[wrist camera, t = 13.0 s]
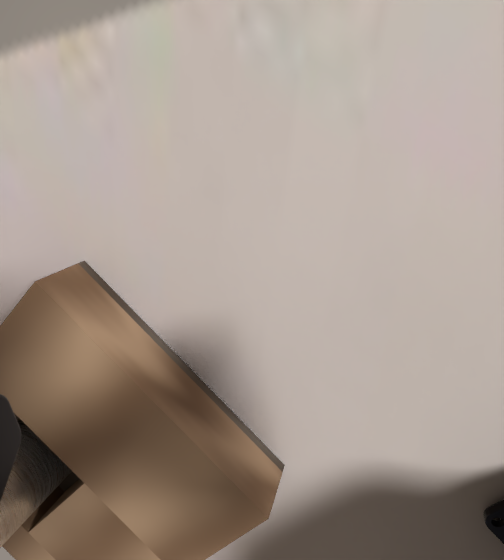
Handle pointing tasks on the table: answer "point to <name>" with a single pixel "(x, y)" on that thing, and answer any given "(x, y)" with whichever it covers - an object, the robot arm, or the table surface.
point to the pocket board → (125, 433)
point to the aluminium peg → (29, 481)
